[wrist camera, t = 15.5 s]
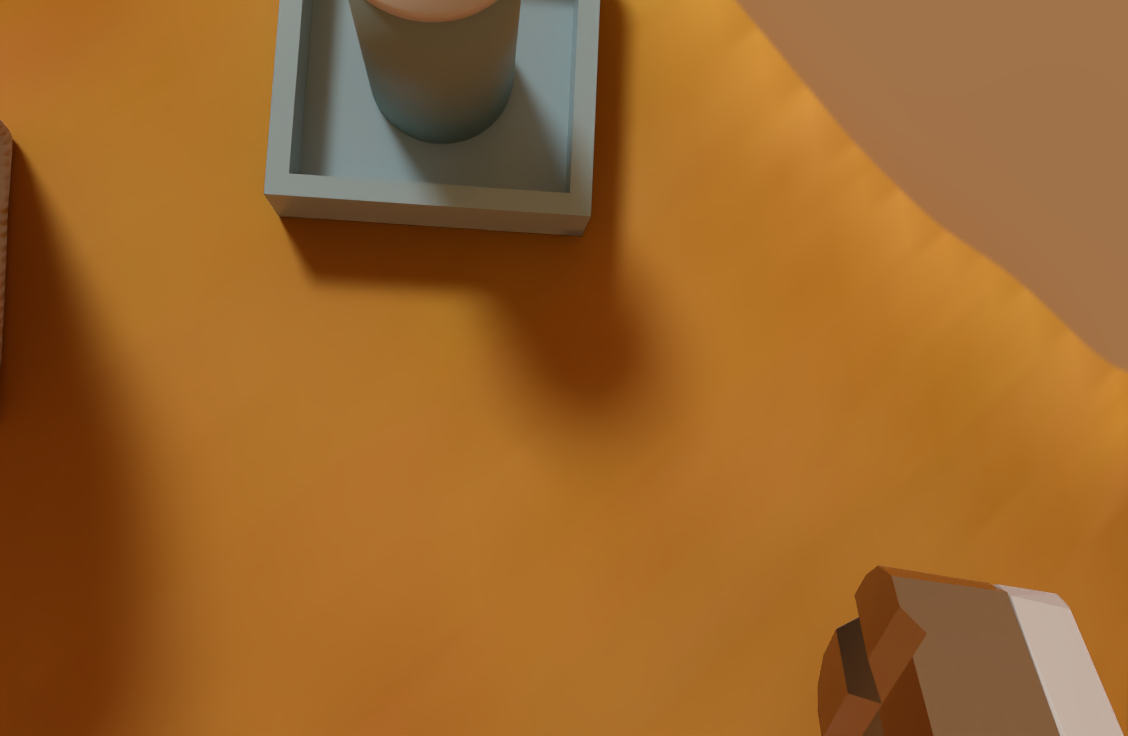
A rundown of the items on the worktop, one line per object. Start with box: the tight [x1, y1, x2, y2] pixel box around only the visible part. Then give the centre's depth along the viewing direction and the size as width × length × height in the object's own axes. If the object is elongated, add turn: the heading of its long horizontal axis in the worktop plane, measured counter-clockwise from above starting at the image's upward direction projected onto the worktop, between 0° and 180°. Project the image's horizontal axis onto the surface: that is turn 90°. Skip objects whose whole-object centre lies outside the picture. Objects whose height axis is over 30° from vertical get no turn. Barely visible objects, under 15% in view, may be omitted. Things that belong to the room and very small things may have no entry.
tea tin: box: [348, 0, 521, 144], centre depth 35 cm, size 6×6×12 cm
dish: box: [264, 0, 600, 236], centre depth 40 cm, size 12×12×3 cm
